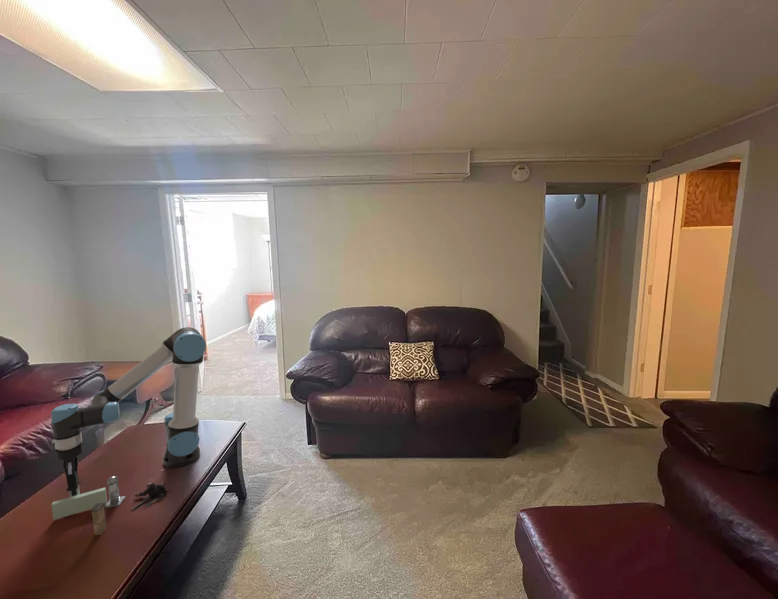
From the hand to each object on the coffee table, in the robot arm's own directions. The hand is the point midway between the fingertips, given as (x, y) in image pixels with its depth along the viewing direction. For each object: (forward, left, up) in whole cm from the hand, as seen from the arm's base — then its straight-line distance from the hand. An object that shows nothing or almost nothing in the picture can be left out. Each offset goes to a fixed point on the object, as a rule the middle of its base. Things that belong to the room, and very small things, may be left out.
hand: (75, 502), depth 132 cm
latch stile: (-16, +15, -2) cm, 22 cm away
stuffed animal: (-25, -1, -3) cm, 25 cm away
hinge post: (-13, 0, -2) cm, 13 cm away
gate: (-4, +4, -1) cm, 5 cm away
